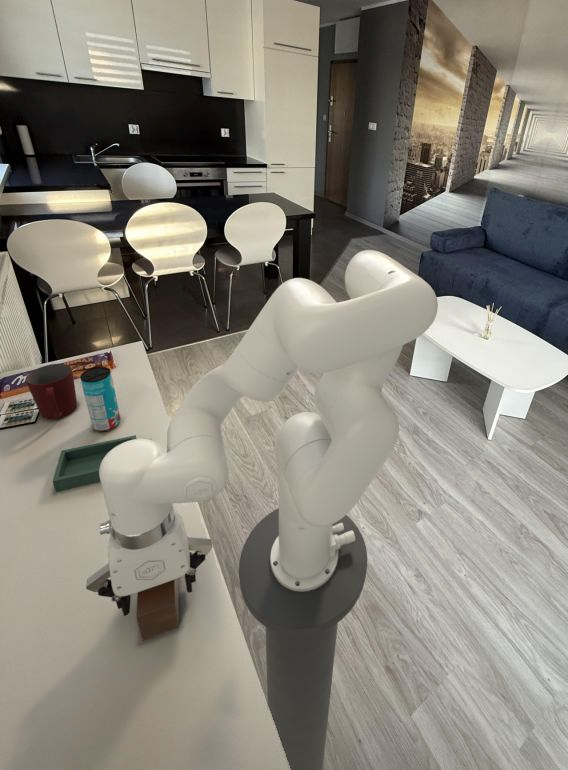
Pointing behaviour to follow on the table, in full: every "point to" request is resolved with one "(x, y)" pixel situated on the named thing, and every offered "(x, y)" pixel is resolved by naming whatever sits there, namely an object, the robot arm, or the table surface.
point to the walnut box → (158, 609)
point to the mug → (53, 390)
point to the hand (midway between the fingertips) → (159, 594)
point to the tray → (82, 464)
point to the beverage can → (100, 398)
